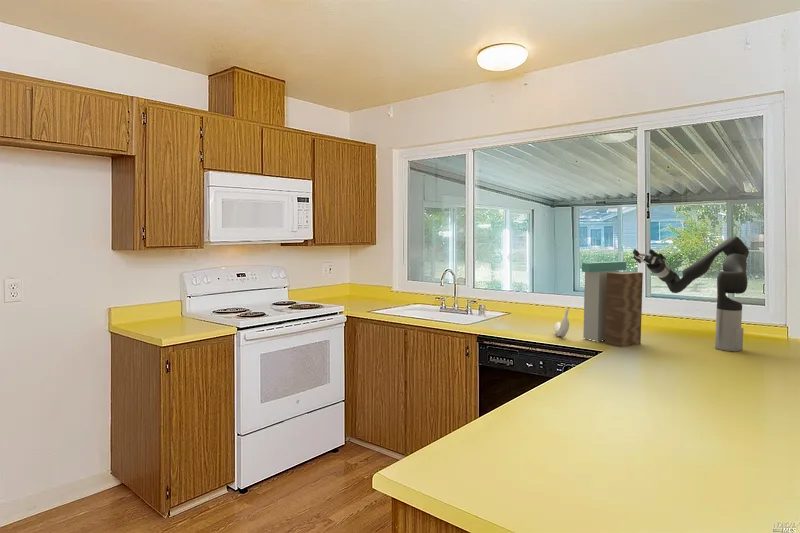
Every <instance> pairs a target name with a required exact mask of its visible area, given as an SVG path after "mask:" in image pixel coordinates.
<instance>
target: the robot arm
mask: <svg viewBox="0 0 800 533" xmlns="http://www.w3.org/2000/svg"><path fill="white" fill-rule="evenodd" d="M722 252H723V253H724V255H725V258H724V259H723V261H722V271H720V272H718V274H717V276H716V277H717V278H716V289H717V291H716V295H717V296H716V301H717V302H716V312H715V313H716V315H715V316H716V318H715V335H714V336H715V339H714V342H715V343H714V347H715V349H716V350H721V351H727V352H740V351H743V350H744V348H743V346H744V344H743V343H744V327H742V318H743V317H742V316H743V303H742V302H739V301H736V300H734V299H732V298H729V296H727V295H726V294H734V295H735V294H736V295H737V294H738V295H740V294H744V293H745V292H746V291H747V288H748V283H749V282H748V275H747V268H748V263H747V261H748V256H749V254H750V250H749V248H748V246H747V245H746V244H745V243H744V242H743V240H741V239H740V237H739V236H731V237H729V238H727V239H726V240H723V242H721V243H720V244H718V245H717V246H716V247H715V248H713V249H712V250H710V251H709V252H707V253H706V254H705V255H704V256H703V257H701V258H700V259H698V260H697V261H696V262H694V263H692V264H690V265H689V266H687V267H686V268H684V269H682V274H681V275H682V277H680V275H679V274H677V272H675V271H674V270H673V269H671V268H670V267H669V265H668V264H667V263H666V261H667V259H666V257H665V256H664V255H663V254H662V253H658V252H655V250H654V249H653V248H650V249H649V251H648V254H649V255H648V254H645V253H641V252H639V251H638V250H637V249H636V248H634V249H633V251H632V254H633V257H632V258H633V259H634V260H635V261H636V262H637V263H638V264H641V263H644V264H645V265H646V267H647V269H648V270H649V271H651V273H653V275H655V277H657V278H658V279H659V280H660V281H662V282H664V283H665V284H666V286H667V288H668V290H669V291H670V292H671V293H673V294H678V293H682V292H683V291H684V290H685V289H686V288H688V286H690V284H692V282H693V281H695V280H697V279H698V278H700V277H702V276H703V275H705V274H706V273H707V272H708V271H709V269H710V268H711V266H712V263H713V262H714V260H715V259H716V257H717V256H718V255H719V254H721V253H722Z"/></svg>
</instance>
